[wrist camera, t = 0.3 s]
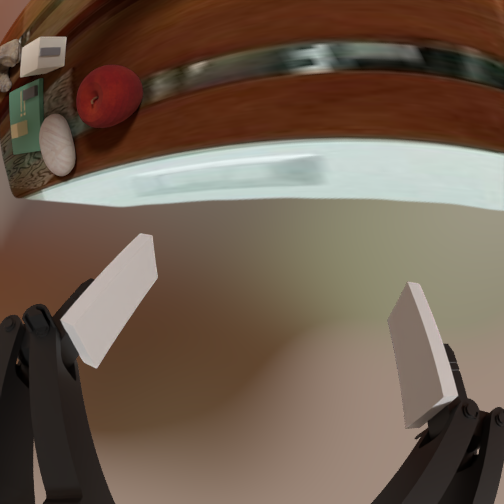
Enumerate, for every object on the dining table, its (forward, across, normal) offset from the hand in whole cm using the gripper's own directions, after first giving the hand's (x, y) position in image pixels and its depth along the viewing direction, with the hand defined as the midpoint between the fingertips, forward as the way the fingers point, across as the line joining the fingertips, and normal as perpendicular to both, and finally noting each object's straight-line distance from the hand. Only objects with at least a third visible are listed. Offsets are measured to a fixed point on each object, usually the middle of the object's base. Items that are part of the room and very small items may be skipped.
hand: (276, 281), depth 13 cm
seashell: (+28, -64, +23) cm, 74 cm away
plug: (+28, -47, +20) cm, 58 cm away
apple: (+28, -27, +9) cm, 40 cm away
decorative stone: (+28, -44, +1) cm, 52 cm away
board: (+28, -58, +8) cm, 64 cm away
